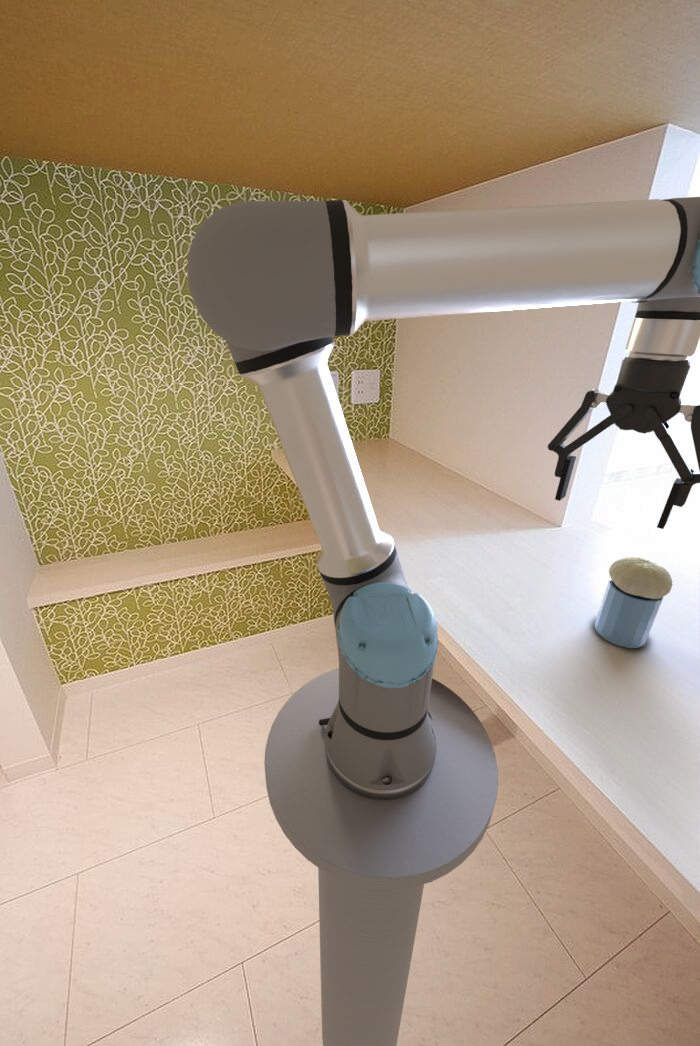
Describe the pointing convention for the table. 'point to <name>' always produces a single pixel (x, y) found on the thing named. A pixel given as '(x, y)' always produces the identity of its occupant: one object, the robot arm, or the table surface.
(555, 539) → the table surface
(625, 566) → the sea urchin shell
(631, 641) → the tumbler
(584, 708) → the table surface
